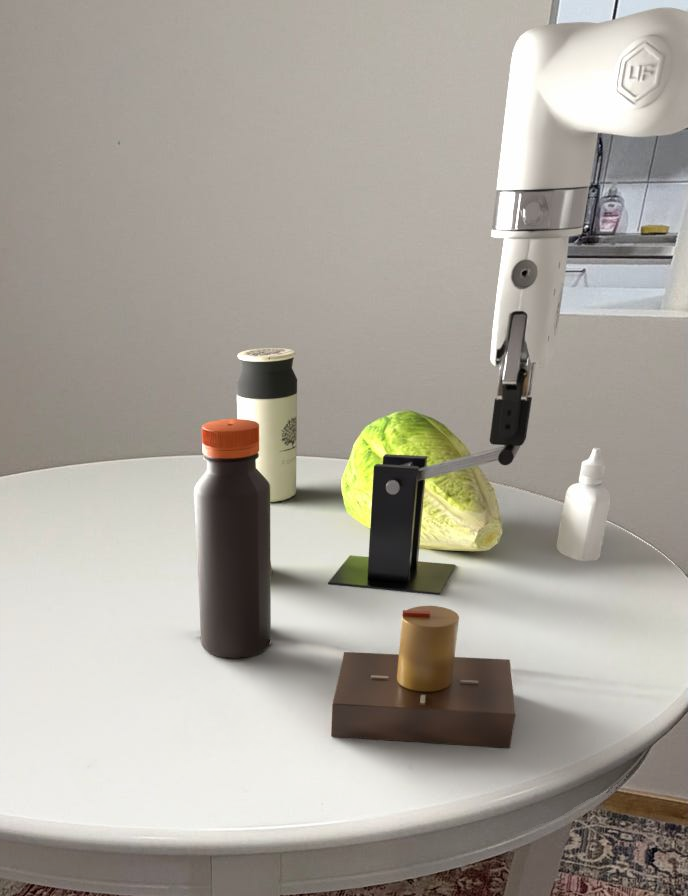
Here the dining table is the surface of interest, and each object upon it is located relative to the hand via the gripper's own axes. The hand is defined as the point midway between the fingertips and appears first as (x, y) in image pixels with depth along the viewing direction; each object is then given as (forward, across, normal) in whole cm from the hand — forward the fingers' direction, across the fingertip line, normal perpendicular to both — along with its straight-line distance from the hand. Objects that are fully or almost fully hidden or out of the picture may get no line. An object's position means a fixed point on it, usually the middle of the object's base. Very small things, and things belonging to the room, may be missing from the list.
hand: (507, 442), depth 92 cm
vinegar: (+15, -20, +21) cm, 33 cm away
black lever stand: (+15, 0, +10) cm, 18 cm away
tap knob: (+12, -29, +1) cm, 31 cm away
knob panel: (+15, -29, +1) cm, 33 cm away
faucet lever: (+4, 0, +5) cm, 6 cm away
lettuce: (+15, +14, +10) cm, 23 cm away
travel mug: (+15, +29, +35) cm, 48 cm away
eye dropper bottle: (+15, +12, -8) cm, 21 cm away
